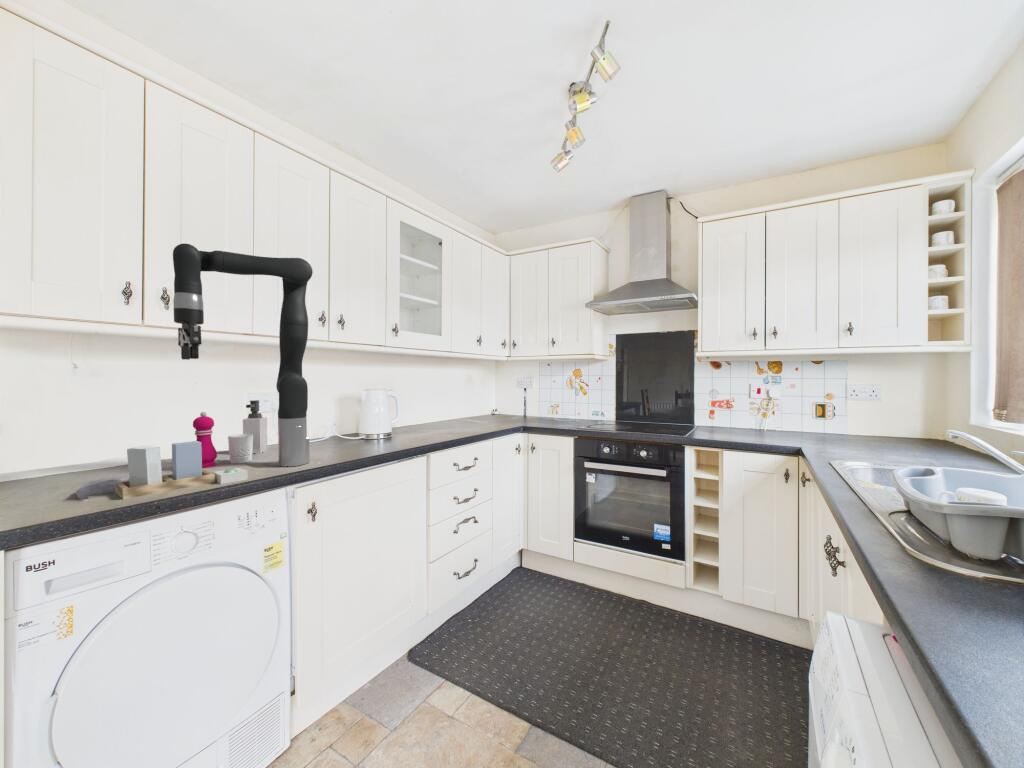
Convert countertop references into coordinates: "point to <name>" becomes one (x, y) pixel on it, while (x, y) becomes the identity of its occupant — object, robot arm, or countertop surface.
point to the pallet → (163, 485)
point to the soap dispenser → (256, 427)
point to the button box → (230, 476)
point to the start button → (229, 470)
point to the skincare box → (144, 465)
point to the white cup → (240, 448)
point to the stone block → (99, 486)
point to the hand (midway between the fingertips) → (189, 359)
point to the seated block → (186, 460)
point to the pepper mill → (205, 439)
